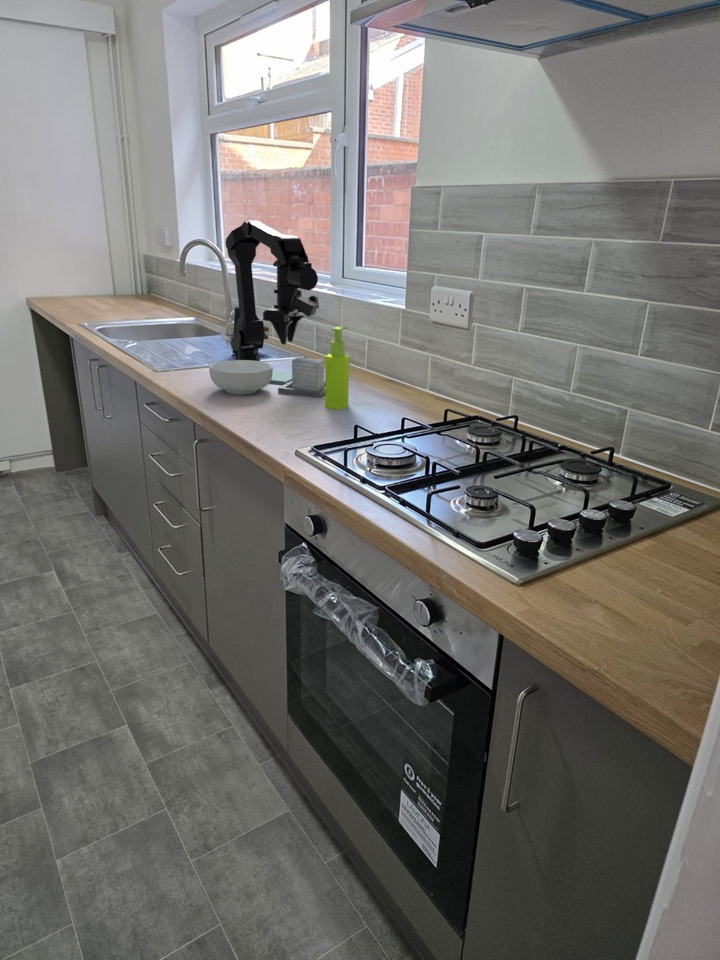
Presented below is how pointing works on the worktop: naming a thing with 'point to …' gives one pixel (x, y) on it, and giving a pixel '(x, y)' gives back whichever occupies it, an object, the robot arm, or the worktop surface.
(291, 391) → the hollow square frame
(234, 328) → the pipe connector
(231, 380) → the cereal bowl
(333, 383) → the soap dispenser
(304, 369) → the medicine box
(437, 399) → the worktop surface
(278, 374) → the board
